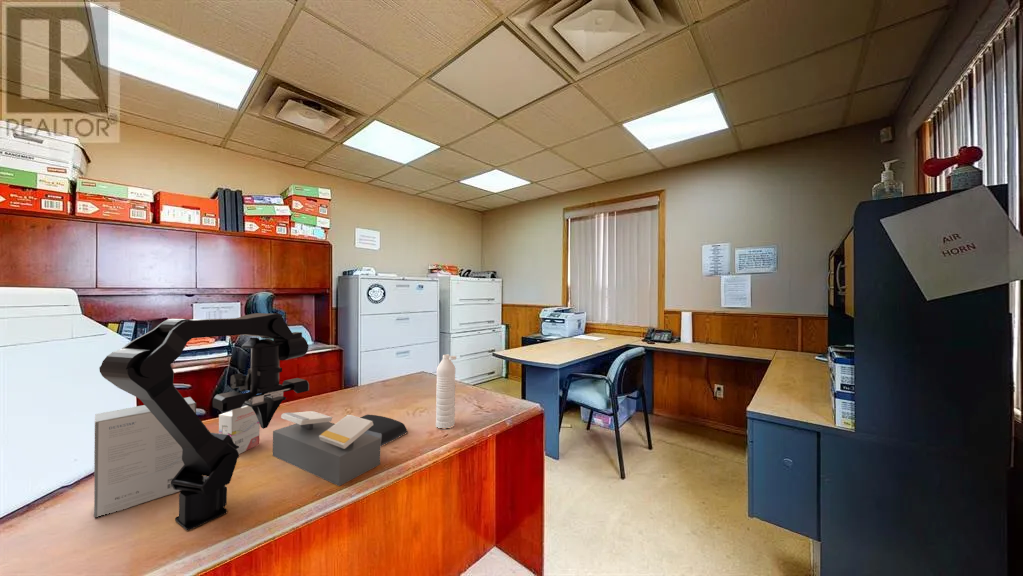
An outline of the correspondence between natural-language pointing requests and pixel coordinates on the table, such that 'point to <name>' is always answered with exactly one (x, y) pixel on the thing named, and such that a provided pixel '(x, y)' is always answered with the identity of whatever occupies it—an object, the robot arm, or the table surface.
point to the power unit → (325, 452)
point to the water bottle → (445, 392)
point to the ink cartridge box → (241, 427)
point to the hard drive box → (133, 459)
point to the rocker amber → (346, 431)
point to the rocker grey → (306, 417)
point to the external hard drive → (385, 428)
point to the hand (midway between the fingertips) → (264, 427)
